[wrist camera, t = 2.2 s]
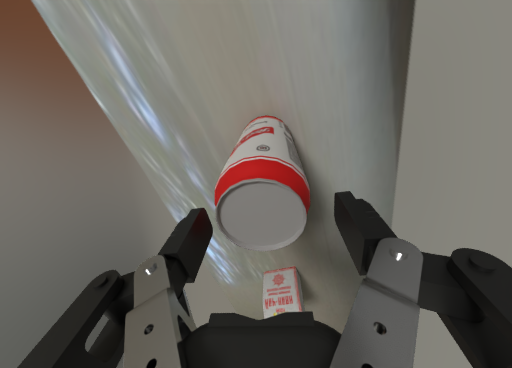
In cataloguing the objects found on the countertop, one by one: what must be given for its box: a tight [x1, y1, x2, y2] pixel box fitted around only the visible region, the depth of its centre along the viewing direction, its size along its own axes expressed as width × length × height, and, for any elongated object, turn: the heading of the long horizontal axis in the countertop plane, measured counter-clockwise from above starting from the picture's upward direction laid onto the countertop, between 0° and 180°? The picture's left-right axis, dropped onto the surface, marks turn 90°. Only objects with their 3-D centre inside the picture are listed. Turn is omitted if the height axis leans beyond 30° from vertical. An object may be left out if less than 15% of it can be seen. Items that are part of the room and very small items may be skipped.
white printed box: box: [263, 267, 305, 319], centre depth 34 cm, size 4×7×10 cm, turn 112°
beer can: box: [215, 116, 311, 251], centre depth 17 cm, size 6×6×16 cm
